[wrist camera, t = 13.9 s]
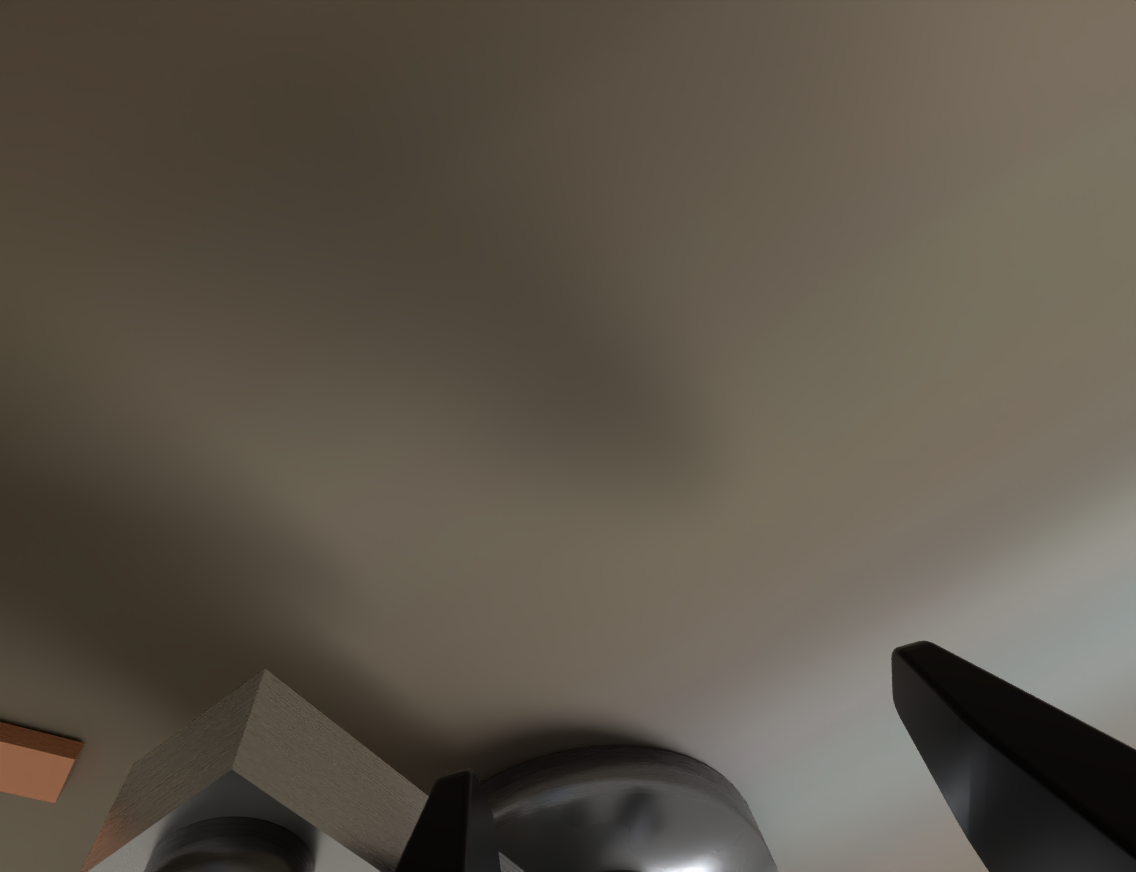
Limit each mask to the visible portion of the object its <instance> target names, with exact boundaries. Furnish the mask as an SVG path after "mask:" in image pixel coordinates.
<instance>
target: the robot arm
mask: <svg viewBox="0 0 1136 872" xmlns="http://www.w3.org/2000/svg"><path fill="white" fill-rule="evenodd" d="M891 660H892V691H893V700H894V704H895V707H896V710H897V712H898V714H899V716H900V718H901V720H902V722H903V724H904V726H905V727H906V729H907V731H908V733H909V735H910V737H911V738H912V740H913V742H914V744H915V746H916V747H917V749H918V751H919V753H920V755H921V756H922V758H923V760H924V762H925V764H926V766H927V767H928V769H929V771H930V773H931V775H932V776H933V778H934V780H935V782H936V784H937V785H938V787H939V789H940V791H941V793H942V794H943V796H944V798H945V800H946V802H947V804H948V805H949V807H950V809H951V811H952V813H953V814H954V816H955V818H956V820H957V822H958V823H959V825H960V827H961V828H962V830H963V832H964V834H965V835H966V837H967V839H968V840H969V842H970V844H971V845H972V847H973V848H974V850H975V851H976V853H977V854H978V856H979V857H980V859H981V860H982V862H983V863H984V865H985V866H986V868H987V869H988V871H989V872H1136V749H1134V748H1132V747H1130V746H1128V745H1126V744H1124V743H1123V742H1121V741H1119V740H1117V739H1115V738H1113V737H1111V736H1109V735H1107V734H1105V733H1104V732H1102V731H1100V730H1098V729H1096V728H1094V727H1092V726H1090V725H1088V724H1086V723H1084V722H1083V721H1081V720H1079V719H1077V718H1075V717H1073V716H1071V715H1069V714H1067V713H1065V712H1063V711H1062V710H1060V709H1058V708H1056V707H1054V706H1052V705H1050V704H1048V703H1046V702H1044V701H1043V700H1041V699H1039V698H1037V697H1035V696H1033V695H1031V694H1029V693H1027V692H1025V691H1023V690H1022V689H1020V688H1018V687H1016V686H1014V685H1012V684H1010V683H1008V682H1006V681H1004V680H1002V679H1001V678H999V677H997V676H995V675H993V674H991V673H989V672H987V671H985V670H983V669H982V668H980V667H978V666H976V665H974V664H972V663H970V662H968V661H966V660H964V659H962V658H961V657H959V656H957V655H955V654H953V653H951V652H949V651H947V650H945V649H943V648H941V647H940V646H938V645H936V644H934V643H931V642H928V641H918V642H915V643H911V644H908V645H904V646H900V647H897V648H896V649H894V651H893V653H892V658H891ZM394 872H501V867H500V859H499V851H498V842H497V834H496V827H495V822H494V817H493V814H492V811H491V808H490V806H489V803H488V801H487V799H486V796H485V794H484V791H483V789H482V787H481V784H480V782H479V780H478V777H477V775H476V773H475V772H474V771H473V770H472V769H470V768H465V769H461V770H458V771H454V772H451V773H447V774H444V775H442V776H440V777H439V778H438V779H437V781H436V782H435V784H434V786H433V789H432V791H431V793H430V795H429V797H428V799H427V801H426V804H425V806H424V808H423V810H422V812H421V814H420V816H419V819H418V821H417V823H416V825H415V827H414V829H413V831H412V834H411V836H410V838H409V840H408V842H407V844H406V846H405V849H404V851H403V853H402V855H401V857H400V859H399V862H398V864H397V866H396V868H395V870H394Z"/></svg>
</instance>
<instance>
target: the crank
mask: <svg viewBox="0 0 1136 872" xmlns="http://www.w3.org/2000/svg"><path fill="white" fill-rule="evenodd" d="M428 797H429V796H428V795H426V794H425V793H424V792H422V791H421V790H420V789H419V788H417V787H416V786H415V785H413V784H412V783H411V782H410V781H408V780H407V779H406V778H405V777H403V776H402V775H401V774H399V773H398V772H397V771H396V770H394V769H393V768H392V767H390V766H389V765H388V764H387V763H385V762H384V761H383V760H382V759H380V758H379V757H378V756H376V755H375V754H374V753H373V752H371V751H370V750H369V749H367V748H366V747H365V746H364V745H362V744H361V743H360V742H359V741H357V740H356V739H355V738H353V737H352V736H351V735H350V734H348V733H347V732H346V731H344V730H343V729H342V728H341V727H339V726H338V725H337V724H336V723H334V722H333V721H332V720H330V719H329V718H328V717H327V716H325V715H324V714H323V713H321V712H320V711H319V710H318V709H316V708H315V707H314V706H313V705H311V704H310V703H309V702H307V701H306V700H305V699H304V698H302V697H301V696H300V695H298V694H297V693H296V692H295V691H293V690H292V689H291V688H290V687H288V686H287V685H286V684H284V683H283V682H282V681H281V680H279V679H278V678H277V677H275V676H274V675H273V674H272V673H270V672H269V671H268V670H267V669H264V670H262V671H261V672H260V673H258V674H257V675H256V676H254V677H253V678H251V679H250V680H249V681H247V682H246V683H244V684H243V685H242V686H240V687H239V688H238V689H236V690H235V691H233V692H232V693H231V694H229V695H228V696H226V697H225V698H224V699H222V700H221V701H220V702H218V703H217V704H215V705H214V706H213V707H211V708H210V709H209V710H207V711H206V712H204V713H203V714H202V715H200V716H199V717H197V718H196V719H195V720H193V721H192V722H191V723H189V724H188V725H186V726H185V727H184V728H182V729H181V730H180V731H178V732H177V733H175V734H174V735H173V736H171V737H170V738H168V739H167V740H166V741H164V742H163V743H162V744H160V745H159V746H157V747H156V748H155V749H153V750H152V751H150V752H149V753H148V754H146V755H145V756H144V757H142V758H141V759H139V760H138V761H137V762H135V763H134V764H133V766H132V768H131V770H130V772H129V774H128V776H127V778H126V780H125V782H124V784H123V786H122V788H121V790H120V792H119V794H118V796H117V798H116V800H115V802H114V804H113V806H112V808H111V810H110V812H109V814H108V816H107V818H106V820H105V822H104V825H103V827H102V829H101V831H100V833H99V835H98V837H97V839H96V841H95V843H94V845H93V847H92V849H91V851H90V853H89V855H88V857H87V859H86V861H85V863H84V865H83V867H82V869H81V871H80V872H394V870H395V868H396V866H397V864H398V862H399V859H400V857H401V855H402V853H403V851H404V849H405V846H406V844H407V842H408V840H409V838H410V836H411V834H412V831H413V829H414V827H415V825H416V823H417V821H418V819H419V816H420V814H421V812H422V810H423V808H424V806H425V804H426V801H427V799H428ZM499 859H500V867H501V872H525V871H523V870H522V869H521V868H520V867H518V866H517V865H516V864H514V863H513V862H512V861H511V860H509V859H508V858H507V857H506V856H504V855H503V854H502V853H500V852H499Z"/></svg>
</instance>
